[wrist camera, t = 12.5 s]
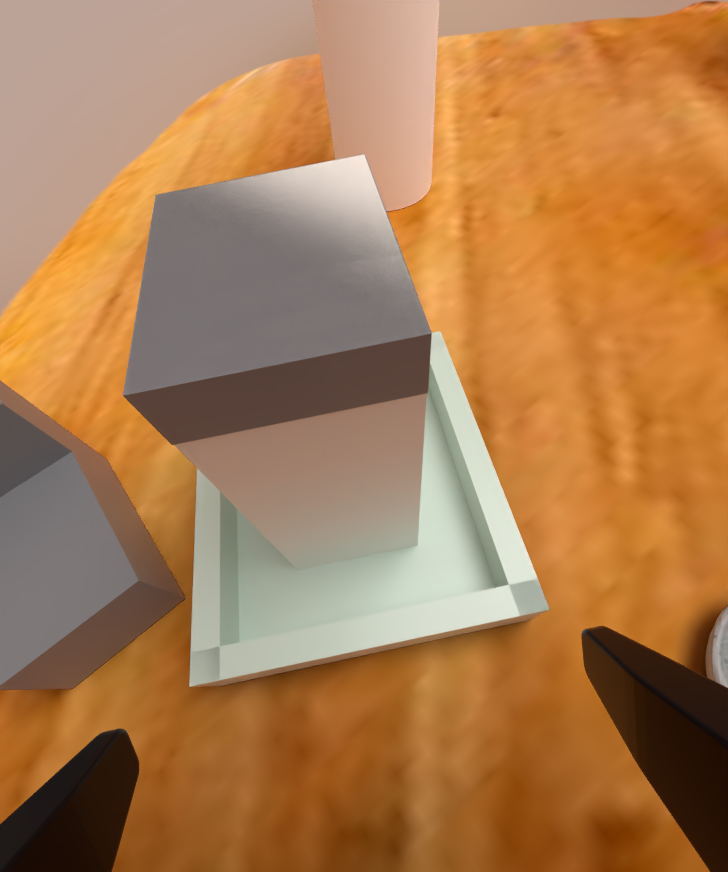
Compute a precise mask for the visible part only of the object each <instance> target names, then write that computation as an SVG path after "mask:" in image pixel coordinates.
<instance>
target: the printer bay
mask: <svg viewBox="0 0 728 872" xmlns="http://www.w3.org/2000/svg"><path fill="white" fill-rule="evenodd" d="M184 599H185V596H184V594H183V592H182V591H181V589H180V587H179V585H178V584H177V582H176V580H175V578H174V577H173V575H172V573H171V571H170V570H169V568H168V566H167V564H166V563H165V561H164V559H163V557H162V556H161V554H160V552H159V550H158V548H157V547H156V545H155V543H154V541H153V540H152V538H151V536H150V534H149V533H148V531H147V529H146V527H145V526H144V524H143V522H142V520H141V519H140V517H139V515H138V513H137V512H136V510H135V508H134V506H133V505H132V503H131V501H130V499H129V497H128V496H127V494H126V492H125V490H124V489H123V487H122V485H121V483H120V482H119V480H118V478H117V476H116V475H115V473H114V471H113V469H112V468H111V466H110V464H109V462H108V461H107V459H106V458H104V457H103V456H102V455H100V454H99V453H98V452H96V451H95V450H94V449H92V448H91V447H89V446H88V445H87V444H85V443H84V442H83V441H81V440H80V439H79V438H77V437H76V436H75V435H73V434H72V433H71V432H69V431H68V430H66V429H65V428H64V427H62V426H61V425H60V424H58V423H57V422H56V421H54V420H53V419H52V418H50V417H49V416H48V415H46V414H45V413H43V412H42V411H41V410H39V409H38V408H37V407H35V406H34V405H33V404H31V403H30V402H29V401H27V400H26V399H24V398H23V397H22V396H20V395H19V394H18V393H16V392H15V391H14V390H12V389H11V388H10V387H8V386H7V385H6V384H4V383H3V382H1V381H0V690H30V689H73V688H74V687H75V686H76V685H78V684H79V683H80V682H81V681H83V680H84V679H85V678H86V677H88V676H89V675H90V674H91V673H93V672H94V671H95V670H96V669H98V668H99V667H100V666H102V665H103V664H104V663H105V662H107V661H108V660H109V659H110V658H112V657H113V656H114V655H115V654H117V653H118V652H119V651H120V650H122V649H123V648H124V647H125V646H127V645H128V644H129V643H130V642H132V641H133V640H134V639H135V638H137V637H138V636H139V635H140V634H142V633H143V632H144V631H145V630H147V629H148V628H149V627H150V626H152V625H153V624H154V623H155V622H157V621H158V620H159V619H160V618H162V617H163V616H164V615H165V614H167V613H168V612H169V611H170V610H172V609H173V608H174V607H175V606H177V605H178V604H179V603H180V602H182V601H183V600H184Z"/></svg>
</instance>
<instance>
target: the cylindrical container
mask: <svg viewBox="0 0 728 872" xmlns="http://www.w3.org/2000/svg"><path fill="white" fill-rule="evenodd" d="M313 7H314V14H315V21H316V28H317V35H318V42H319V49H320V56H321V63H322V70H323V77H324V84H325V92H326V99H327V106H328V113H329V120H330V127H331V134H332V141H333V148H334V155H335V160H336V159H341V158H346V157H351V156H356V155H362V154H365V155H366V158H367V161H368V163H369V166H370V169H371V171H372V174H373V177H374V179H375V182H376V185H377V188H378V190H379V193H380V196H381V198H382V201H383V204H384V206H385V209H386V211H393V210H398V209H402V208H405V207H408V206H410V205H412V204H414V203H416V202H418V201H419V200H421V199H422V198H423V197H424V196H425V195H426V194H427V193H428V191H429V190H430V187H431V181H432V157H433V133H434V109H435V86H436V63H437V41H438V19H439V0H313Z"/></svg>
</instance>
